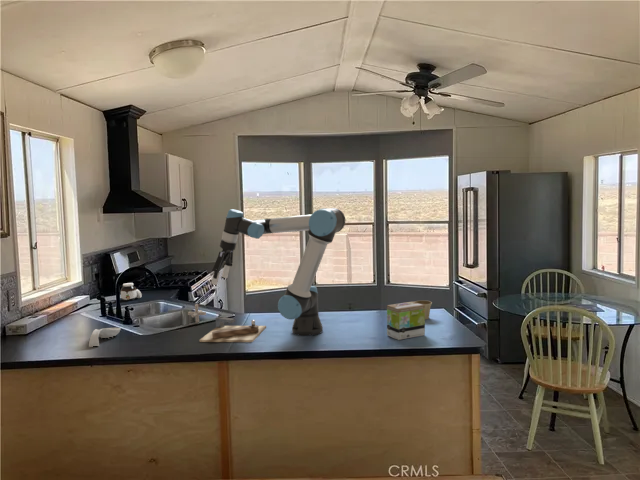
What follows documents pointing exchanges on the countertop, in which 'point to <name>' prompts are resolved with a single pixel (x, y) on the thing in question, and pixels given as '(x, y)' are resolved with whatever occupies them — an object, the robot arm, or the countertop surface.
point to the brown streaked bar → (235, 331)
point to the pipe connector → (196, 313)
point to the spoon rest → (102, 335)
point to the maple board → (237, 338)
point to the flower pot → (427, 307)
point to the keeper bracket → (221, 321)
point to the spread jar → (130, 292)
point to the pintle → (253, 322)
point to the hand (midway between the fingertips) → (219, 280)
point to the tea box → (405, 320)
